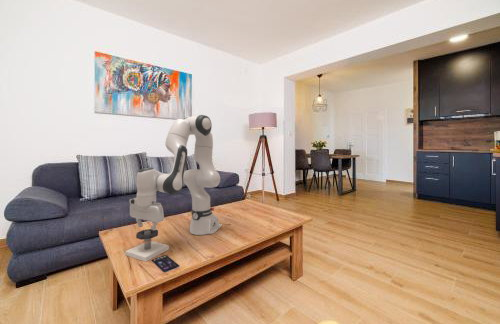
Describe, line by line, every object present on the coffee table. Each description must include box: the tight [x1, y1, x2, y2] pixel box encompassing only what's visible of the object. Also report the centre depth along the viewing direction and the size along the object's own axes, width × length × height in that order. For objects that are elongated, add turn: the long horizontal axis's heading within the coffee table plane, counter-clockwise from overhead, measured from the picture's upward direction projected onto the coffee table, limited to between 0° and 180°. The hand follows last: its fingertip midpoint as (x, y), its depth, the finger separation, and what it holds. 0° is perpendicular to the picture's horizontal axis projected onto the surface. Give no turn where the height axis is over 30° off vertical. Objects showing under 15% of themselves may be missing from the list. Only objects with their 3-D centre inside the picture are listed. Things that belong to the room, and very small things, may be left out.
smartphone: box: [150, 254, 181, 274], centre depth 100 cm, size 8×1×15 cm
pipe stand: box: [124, 231, 170, 263], centre depth 110 cm, size 14×14×10 cm
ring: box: [135, 228, 159, 241], centre depth 110 cm, size 10×10×1 cm
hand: (146, 228), depth 110 cm, fingers open, 8 cm apart
